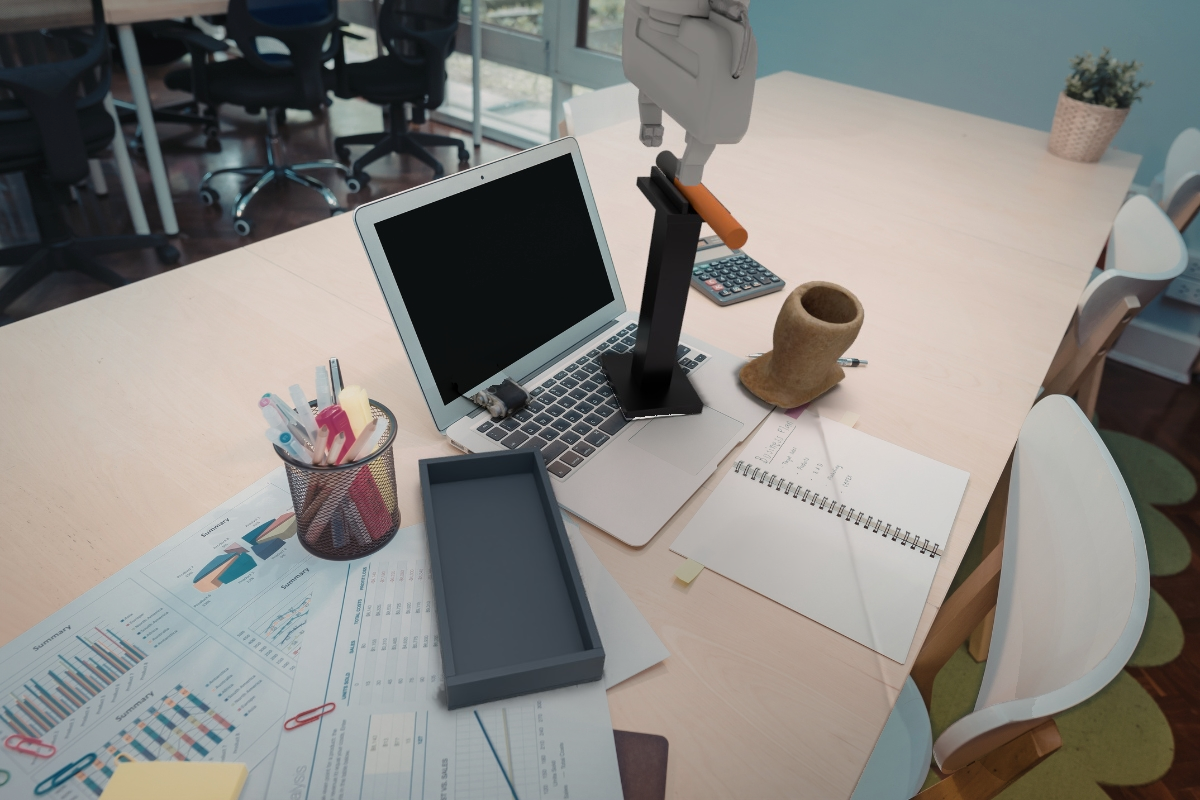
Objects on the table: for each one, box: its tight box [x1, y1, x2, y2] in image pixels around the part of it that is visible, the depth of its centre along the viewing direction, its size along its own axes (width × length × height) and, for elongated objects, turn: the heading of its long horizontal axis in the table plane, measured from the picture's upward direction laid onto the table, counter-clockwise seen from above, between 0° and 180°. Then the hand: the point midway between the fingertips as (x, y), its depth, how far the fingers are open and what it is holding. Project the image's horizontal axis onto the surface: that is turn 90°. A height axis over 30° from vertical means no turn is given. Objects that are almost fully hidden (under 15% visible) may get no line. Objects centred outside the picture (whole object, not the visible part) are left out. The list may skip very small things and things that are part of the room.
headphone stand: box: [598, 165, 732, 418], centre depth 85 cm, size 12×10×27 cm
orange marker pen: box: [655, 149, 749, 251], centre depth 75 cm, size 20×2×2 cm, turn 16°
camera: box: [470, 376, 532, 418], centre depth 88 cm, size 5×10×4 cm, turn 47°
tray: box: [417, 445, 607, 711], centre depth 67 cm, size 26×13×4 cm, turn 16°
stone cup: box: [738, 280, 865, 409], centre depth 92 cm, size 15×12×15 cm
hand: (667, 162), depth 64 cm, fingers open, 8 cm apart
